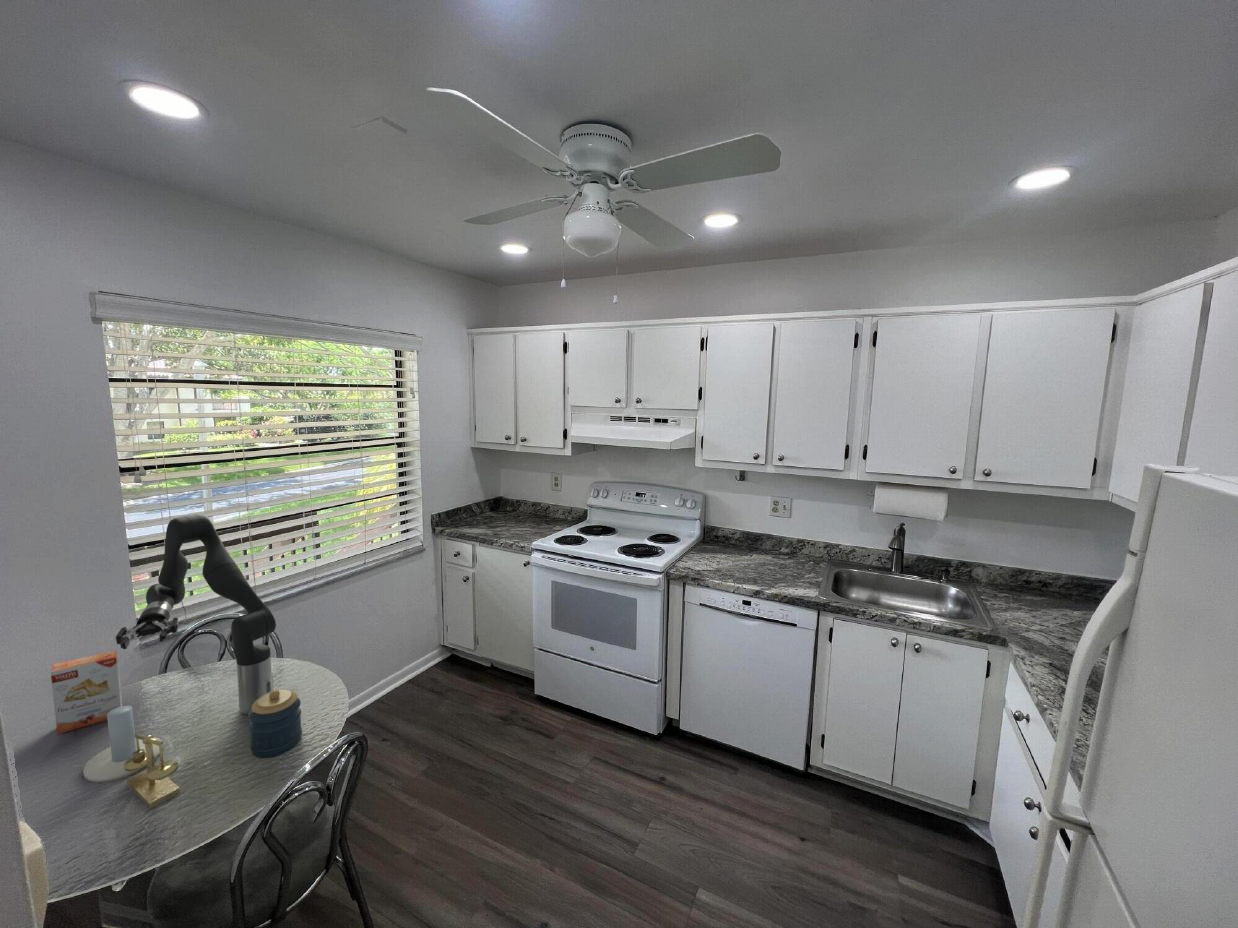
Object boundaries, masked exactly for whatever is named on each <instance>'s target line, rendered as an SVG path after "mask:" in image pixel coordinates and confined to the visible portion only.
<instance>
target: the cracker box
mask: <svg viewBox="0 0 1238 928" xmlns="http://www.w3.org/2000/svg"><path fill="white" fill-rule="evenodd" d="M50 678H51V679H50V680H51V687H52V697H53V698H52V699H53V706H54V715H55V724H56V732H57V735H59V734H63V733H66V732H67V733H68V732H71V731H73V730H74V731H75V730H77V729H81V728H85V727H88V726H91V725H96V724H99V723H102V722H106V721H108V720H107V714H108V713H109V712H110V711H111V710H113V709H115V708H118V707H121V706H123V697H122V686H121V685H122V684H121V675H120V666H119V655H118V650H112V651H108V652H103V653H97V654H94V655H88V656H85V657H81V658H75V659H69V660H66V661H61V662H58V663H56V662H55V663H53V664H52V667H51V670H50Z"/></svg>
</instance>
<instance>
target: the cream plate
mask: <svg viewBox="0 0 1238 928" xmlns="http://www.w3.org/2000/svg"><path fill="white" fill-rule="evenodd" d="M154 739H156V740H159V741H162V739H161V738H159V737H156V736H154ZM135 740H136V738H135ZM142 741H143V740H140V739H139V748H140V749H144V750H145V744H143V742H142ZM163 744H164V743H163ZM163 744H162V751H163V750H164V749H163V748H164V745H163ZM152 745H153V753H154V756H155V758H154V762H155V761H156V760H157V759H158V758H160V750H159V746H158V745H155V744H152ZM136 750H137V744H136ZM145 752H146V750H145ZM131 758H132V757H131ZM129 759H130V758H129ZM129 759H127V760H129ZM127 760H125V761H122V762H113V761H112V756H111V747H110V746H109V747H107V748H105V749H104V750H102V751H101V750H100V752H98V753H96V755H94V756H93V757H92V758H90V759H89V760H88V761H87V762H86V763H85V764H84V766H83V771H82V772H83V778H84V779H85V781H87V782H90V783H96V784H98V783H99V784H100V783H108V782H113V781H116V780H119V779H123V778H127V777H130V776H131V775H134V774H135V773H137V772H139V771H141V770H143V769H145V768H147V766H145V767H143V768H141V769H138V770H134V771H126V770H125V769H124V764H125V762H126V761H127Z"/></svg>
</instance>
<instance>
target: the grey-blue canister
mask: <svg viewBox="0 0 1238 928" xmlns="http://www.w3.org/2000/svg"><path fill="white" fill-rule="evenodd" d="M106 721H107V727H108V737H109V745H110V746H109V747H111V756H112V761H113V762H122V761H125V760H127V759H129V758H131V757H133V755H132V754H133V753H134V752H135V751H137V750H136V740H135V735H136V732H135V723H134V722H135V721H134V713H133V706H132V705H122V706H121V707H118V708H115V709H113V710H111V711H110V712H109V713H108V714H107V720H106Z"/></svg>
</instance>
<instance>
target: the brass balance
mask: <svg viewBox="0 0 1238 928" xmlns="http://www.w3.org/2000/svg"><path fill="white" fill-rule="evenodd" d="M154 737H155V736H154V735H152V734H147V735H146V736H145V735H143V734H140V733H135V738H136V744H137V751H135V752H134V753H133V754H132V755H133V757H132V758H130V759H129V760H127V761H126V762H125V764H124V769H125V770H126V771H134V770H138V769H141V768H143V767H145V766H146V767H145V768H147V769H144V768H143V769H144V770H143V771H141V772H138V773H136V774H133V775H132V776H129V777H128V778H126V785H127V786H128V787H129V788H130V790H131V791H132V792H133V793H135V794H136V796H137V797H138V798H139V799H140V800H141V801H142V802H143V803H144V804H145V805H146V806H147V807H148V808H149V809H150V810H151V809H153V808H155V807H156V806H158V805H160V804H161V803H164V802H166V801H167V800H169V799H171V798H173V797H175V796H177V795H178V794H180V787H179V786H178V785H177V784H175V782H174V781H172V779H170V777H169V776H172V775H173V774H174V773H175V772H176V771H177V770H178V769H179V761H177V760H175V759H172V760H171V759H170V760H165V761H164V756H163V755H164V754H163V750H162V744H164V742H163V741H162V740H161V741H159V740H156V739H154ZM139 739H140V740H143V741H142V742H143V744H145V750H146V752H145V750H144V749H140V748H139ZM152 744H155V745H158V746H159V750H160V756H159V759H160V762H159V763H157V764H155V761H154V758H155V756H154V753H153V745H152ZM141 770H142V769H141Z"/></svg>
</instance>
